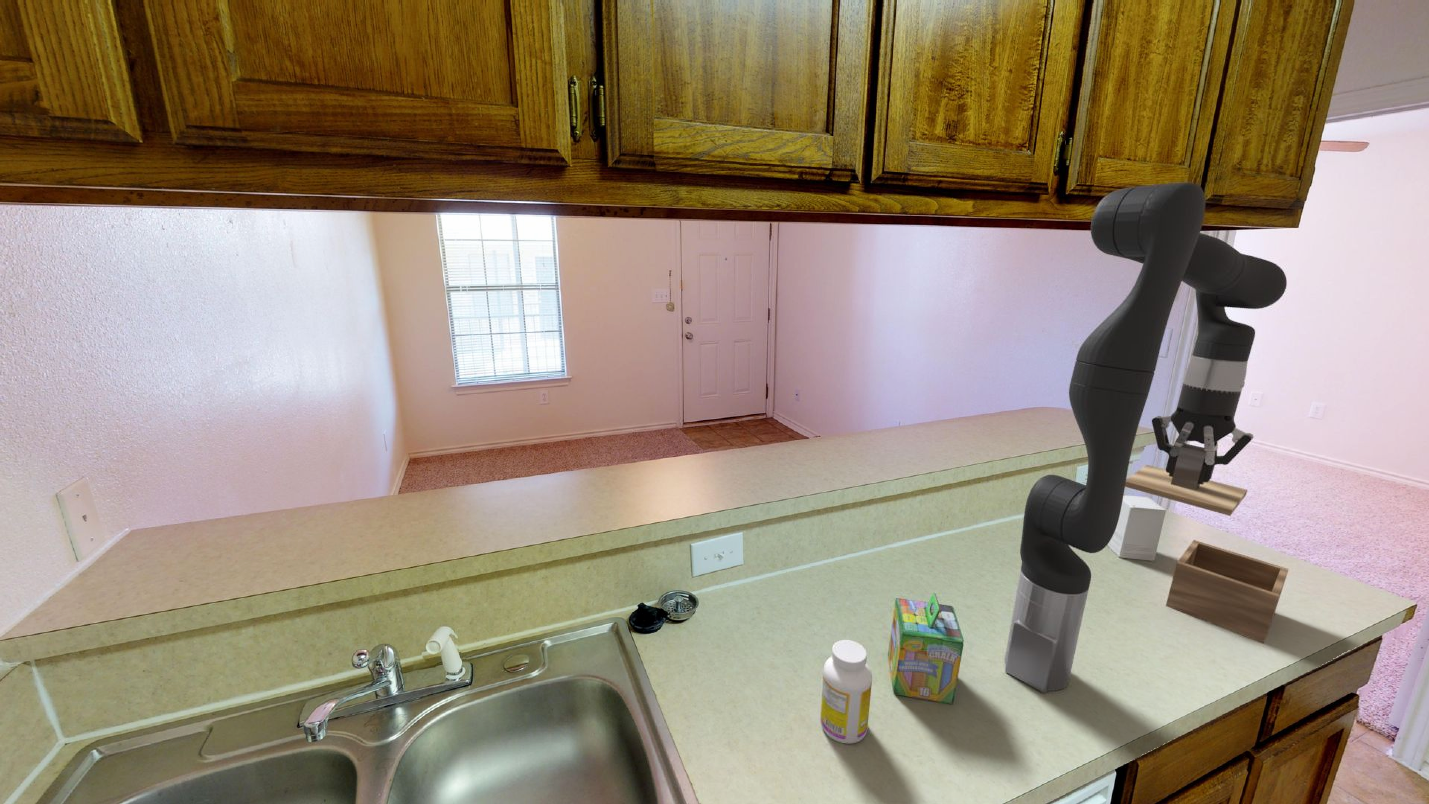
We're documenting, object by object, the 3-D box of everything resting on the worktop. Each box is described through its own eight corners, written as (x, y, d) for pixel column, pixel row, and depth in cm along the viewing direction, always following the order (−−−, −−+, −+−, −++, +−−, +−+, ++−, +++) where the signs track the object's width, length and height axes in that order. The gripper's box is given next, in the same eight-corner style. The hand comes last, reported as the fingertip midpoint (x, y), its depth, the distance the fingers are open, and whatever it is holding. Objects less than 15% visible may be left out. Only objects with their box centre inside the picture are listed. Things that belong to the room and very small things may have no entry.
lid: (1230, 516, 88) (1244, 469, 86) (1122, 486, 99) (1132, 443, 97) (1246, 495, 97) (1258, 452, 95) (1145, 469, 108) (1155, 430, 106)
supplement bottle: (859, 707, 83) (866, 634, 80) (873, 745, 76) (881, 667, 73) (815, 708, 83) (820, 635, 79) (825, 746, 76) (831, 668, 73)
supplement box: (1155, 561, 124) (1167, 510, 121) (1118, 557, 126) (1129, 507, 122) (1137, 545, 131) (1149, 496, 128) (1103, 542, 133) (1113, 493, 129)
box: (1263, 643, 98) (1278, 596, 96) (1165, 605, 108) (1177, 562, 106) (1274, 612, 107) (1288, 569, 104) (1183, 580, 117) (1193, 539, 115)
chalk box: (887, 655, 94) (895, 578, 90) (944, 664, 92) (955, 586, 88) (891, 696, 85) (901, 612, 81) (955, 707, 83) (968, 622, 79)
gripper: (1154, 379, 96) (1132, 471, 101) (1266, 396, 86) (1235, 498, 90) (1166, 375, 101) (1144, 463, 105) (1273, 390, 91) (1243, 488, 95)
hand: (1186, 479), depth 98 cm, fingers closed on lid, 3 cm apart
